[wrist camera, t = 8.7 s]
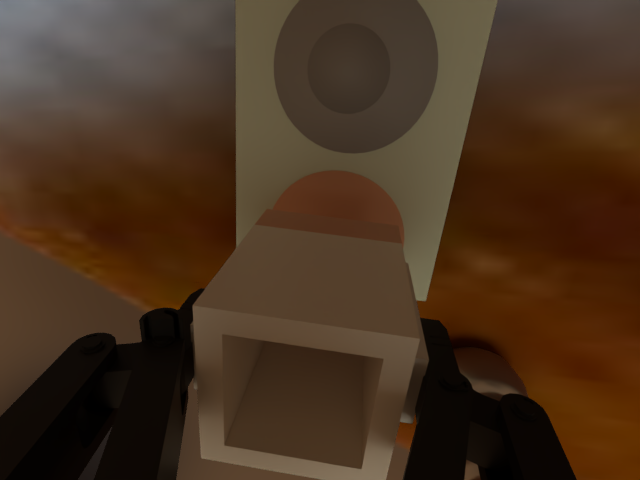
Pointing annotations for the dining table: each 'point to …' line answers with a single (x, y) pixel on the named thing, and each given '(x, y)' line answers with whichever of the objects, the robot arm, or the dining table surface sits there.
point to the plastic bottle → (487, 382)
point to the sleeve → (306, 348)
